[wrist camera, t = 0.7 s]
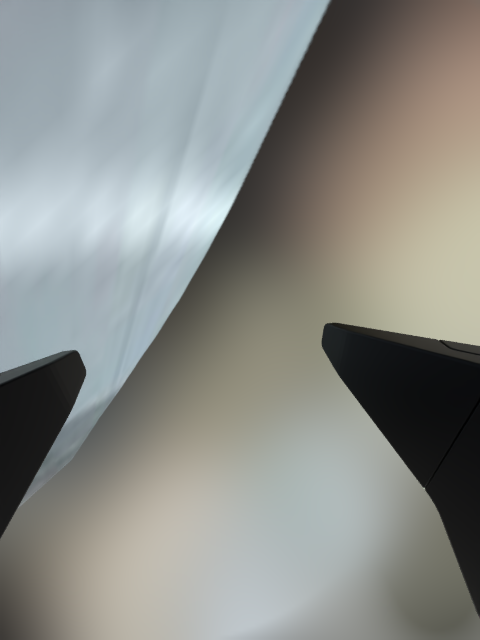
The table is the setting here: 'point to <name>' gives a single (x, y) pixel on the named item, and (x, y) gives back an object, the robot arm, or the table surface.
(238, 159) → the table surface
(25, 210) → the table surface
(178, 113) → the table surface
